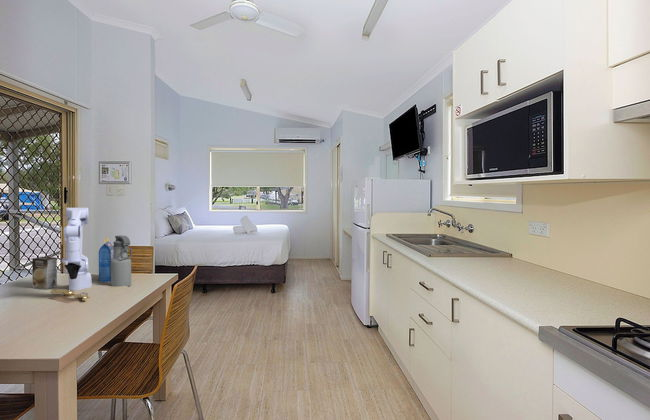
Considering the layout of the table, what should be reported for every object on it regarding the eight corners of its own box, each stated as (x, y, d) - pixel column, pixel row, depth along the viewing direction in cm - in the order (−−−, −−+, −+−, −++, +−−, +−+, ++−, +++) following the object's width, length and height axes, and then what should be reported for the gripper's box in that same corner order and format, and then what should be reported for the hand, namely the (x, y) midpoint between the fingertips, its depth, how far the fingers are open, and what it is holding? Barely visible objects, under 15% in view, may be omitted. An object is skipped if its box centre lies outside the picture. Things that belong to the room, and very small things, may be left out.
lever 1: (76, 293, 172) (75, 288, 172) (70, 295, 168) (70, 291, 168) (54, 293, 172) (54, 288, 172) (47, 295, 168) (47, 290, 168)
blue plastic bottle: (98, 282, 200) (98, 239, 199) (102, 277, 211) (101, 236, 210) (111, 281, 202) (110, 238, 201) (114, 277, 213) (113, 236, 212)
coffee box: (31, 288, 185) (31, 258, 184) (42, 285, 191) (42, 256, 191) (47, 289, 184) (46, 259, 184) (57, 286, 191) (57, 257, 190)
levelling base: (70, 295, 173) (70, 292, 173) (90, 299, 166) (90, 296, 166) (47, 300, 164) (47, 297, 164) (67, 305, 157) (67, 302, 157)
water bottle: (135, 285, 194) (135, 235, 193) (119, 289, 185) (118, 237, 184) (123, 283, 198) (123, 234, 197) (106, 287, 189) (106, 236, 188)
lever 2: (77, 297, 166) (77, 292, 166) (87, 296, 168) (87, 291, 168) (79, 302, 158) (79, 297, 158) (90, 301, 160) (90, 296, 160)
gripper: (54, 250, 165) (55, 278, 165) (73, 253, 159) (73, 282, 159) (70, 248, 171) (71, 275, 172) (89, 251, 165) (89, 279, 166)
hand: (73, 278), depth 166 cm, fingers closed
